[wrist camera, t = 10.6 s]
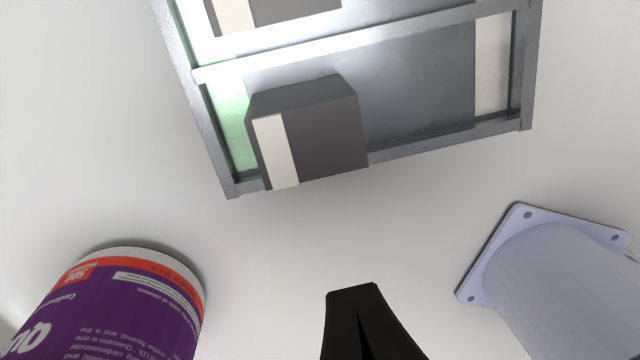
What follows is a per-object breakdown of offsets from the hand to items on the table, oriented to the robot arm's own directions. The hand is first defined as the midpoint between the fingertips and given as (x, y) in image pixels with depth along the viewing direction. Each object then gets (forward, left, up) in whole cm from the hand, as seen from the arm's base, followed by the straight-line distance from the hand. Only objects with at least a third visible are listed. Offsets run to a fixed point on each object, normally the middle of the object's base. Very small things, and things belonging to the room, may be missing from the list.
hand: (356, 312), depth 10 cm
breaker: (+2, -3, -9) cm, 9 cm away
